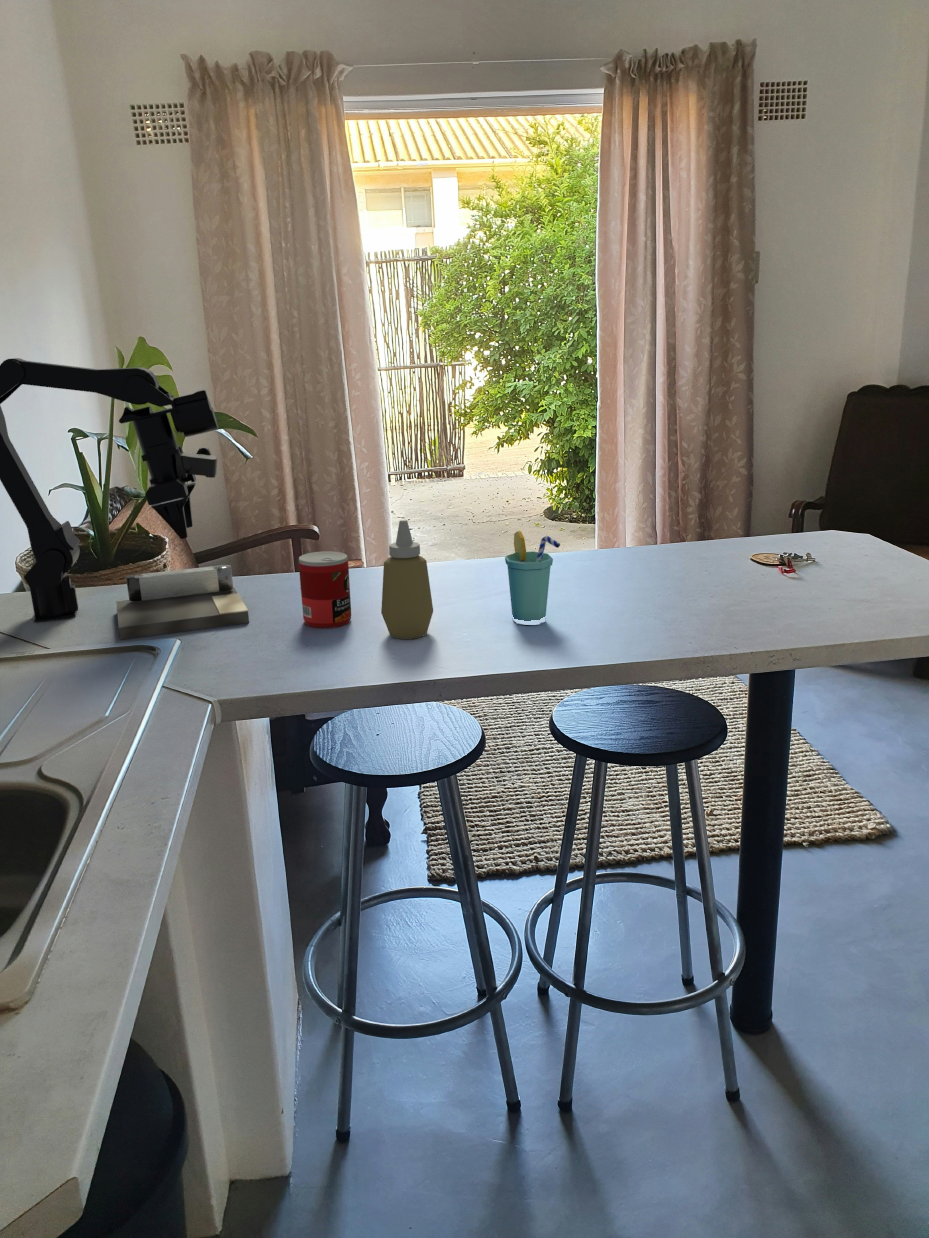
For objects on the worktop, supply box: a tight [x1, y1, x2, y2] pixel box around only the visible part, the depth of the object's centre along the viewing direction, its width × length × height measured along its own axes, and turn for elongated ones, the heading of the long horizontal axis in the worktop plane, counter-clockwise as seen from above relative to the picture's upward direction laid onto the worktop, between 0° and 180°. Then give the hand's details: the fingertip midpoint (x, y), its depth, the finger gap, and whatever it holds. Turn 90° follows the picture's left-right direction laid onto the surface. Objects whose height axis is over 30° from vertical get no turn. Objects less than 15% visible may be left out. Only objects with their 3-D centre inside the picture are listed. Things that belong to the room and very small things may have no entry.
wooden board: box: [115, 587, 250, 641], centre depth 150 cm, size 20×16×2 cm
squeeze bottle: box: [380, 519, 434, 640], centre depth 137 cm, size 8×8×18 cm
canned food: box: [298, 550, 352, 629], centre depth 145 cm, size 8×8×11 cm
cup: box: [504, 530, 561, 621], centre depth 142 cm, size 14×8×15 cm, turn 30°
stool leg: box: [125, 564, 234, 601], centre depth 155 cm, size 18×3×4 cm, turn 112°
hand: (187, 532), depth 154 cm, fingers open, 9 cm apart
